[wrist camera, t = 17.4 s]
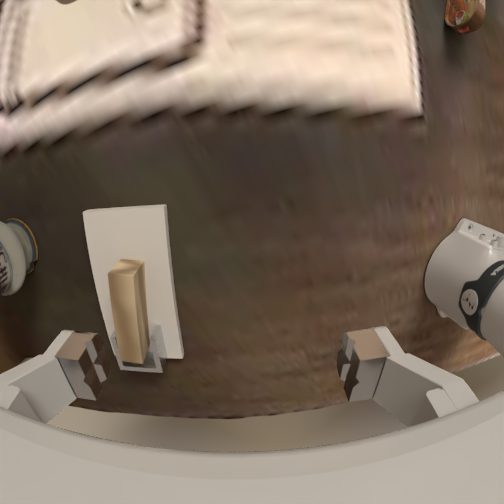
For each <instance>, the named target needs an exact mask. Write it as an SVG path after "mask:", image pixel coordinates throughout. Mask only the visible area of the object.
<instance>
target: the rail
mask: <svg viewBox="0 0 504 504" xmlns="http://www.w3.org/2000/svg"><path fill="white" fill-rule="evenodd" d="M108 282H109V291H110V300H111V307H112V314H113V321H114V328H115V334H116V340H117V345H118V351H119V356H120V361H126V362H132V363H139V364H143V362H144V359H145V357H146V354H147V351H148V348H149V346H150V338H149V327H148V316H147V302H146V286H145V264H144V261H140V260H129V259H120V260H119V261H118V262H117V264H116V265H115V266H114V267H113V268H112V269H111V270H110V271H109V273H108Z"/></svg>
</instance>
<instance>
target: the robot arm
mask: <svg viewBox="0 0 504 504" xmlns="http://www.w3.org/2000/svg"><path fill="white" fill-rule="evenodd" d="M468 227H469V228H468ZM425 291H426V295H427V297H428V299H429V300H430V301H431V302H432V303H433V304H434V305H435V306H436V307H437V311H438V314H439V315H440V316H441V317H442V318H446V317H449V318H451V319H452V320H453V321H455V322H456V323H457V324H459V325H460V326H461V327H463V328H464V329H471V330H472V331H473V332H474V334H475V335H477V336H478V337H480V338H481V339H483V340H487V341H488V342H489V343H490V344H491V345H492V346H493V347H494V348H495V349H496V350H497V351H498V352H499V353H500V354H501V355H502V356H503V357H504V234H503V233H501V232H498V231H496V230H493V229H491V228H489V227H486V226H484V225H481V224H479V223H476V222H474V221H471V220H469V219H466V218H463V219H461V220H460V222H459V223H458V224H457V226H456V228H455V229H454V231H453V232H452V233H451V234H450V235H449V236H448V237H446V238H445V239H444V240H443V241H442V242H441V243H440V244H439V246H438V247H437V248H436V250H435V251H434V253H433V255H432V257H431V259H430V261H429V263H428V266H427V270H426V274H425ZM340 343H341V345H342V347H343V348H342V349H341V350H340V351H339V352H338V357H337V369H338V374H339V377H340V379H342V380H343V381H345V384H344V390H345V393H346V395H347V398H348V401H349V402H352V401H359V400H365V399H372V398H373V400H374V401H375V402H377V403H378V404H379V405H380V406H382V407H383V408H384V409H386V410H387V411H388V412H389V413H390V414H392V415H393V416H394V417H396V418H397V419H398V420H400V421H401V422H402V423H403V424H405V425H406V426H407V427H408V428H404V429H400V430H397V431H393V432H389V433H385V434H381V435H377V436H372V437H367V438H363V439H358V440H353V441H347V442H342V443H336V444H330V445H322V446H316V447H307V448H299V449H288V450H274V451H254V452H210V451H209V452H208V451H190V450H177V449H166V448H156V447H149V446H142V445H135V444H129V443H123V442H117V441H112V440H107V439H102V438H98V437H93V436H89V435H85V434H81V433H77V432H72V431H69V430H66V429H62V428H59V427H55V426H52V425H49V424H46V423H47V422H48V421H49V420H51V419H52V418H53V417H54V416H55V415H57V414H58V413H59V412H60V411H62V410H63V409H64V408H65V407H67V406H68V405H69V404H70V403H72V402H73V401H74V400H75V399H76V397H78V398H84V399H91V400H97V398H98V396H99V394H100V392H101V390H102V388H103V387H102V384H101V382H103V381H104V380H106V379H107V377H108V375H109V372H110V360H109V357H108V354H107V353H106V352H105V351H104V350H103V349H102V347H103V345H104V342H103V340H102V337H101V336H100V335H99V334H96V333H87V332H79V331H69V330H64V331H61V333H60V334H59V335H58V336H57V338H56V339H55V340H54V341H53V343H52V344H51V345H50V346H49V348H48V349H47V350H46V352H45V353H44V354H43V355H38V356H36V357H34V358H32V359H30V360H28V361H26V362H24V363H22V364H20V365H18V366H16V367H14V368H12V369H10V370H8V371H6V372H4V373H2V374H0V504H504V390H503V391H501V392H499V393H497V394H495V395H493V396H491V397H488V398H486V399H484V400H482V401H479V400H478V399H477V398H476V396H475V395H474V393H473V392H472V391H471V390H470V388H469V387H468V385H467V384H466V382H465V381H464V380H463V379H462V378H459V377H457V376H455V375H453V374H451V373H449V372H447V371H445V370H443V369H440V368H438V367H436V366H434V365H432V364H430V363H428V362H426V361H424V360H422V359H420V358H418V357H416V356H414V355H411V354H409V353H407V354H405V353H404V352H403V350H402V349H401V347H400V346H399V344H398V343H397V341H396V340H395V339H394V337H393V336H392V334H391V333H390V331H389V330H388V329H387V327H385V326H381V327H375V328H371V329H364V330H355V331H346V332H343V333H342V335H341V340H340Z"/></svg>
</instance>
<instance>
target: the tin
mask: <svg viewBox="0 0 504 504" xmlns="http://www.w3.org/2000/svg"><path fill="white" fill-rule="evenodd" d="M485 13H486V0H447V4H446V10H445V17H444V18H445V22H446V24H447V25H449V26H450V27H451V28H453V29H454V30H455V31H456V32H457V33H459V34H467V33H470V32H473V31H476V30H477V29H478V28H479V27H480V26H481V25H482V23H483V22H484V19H485Z"/></svg>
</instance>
